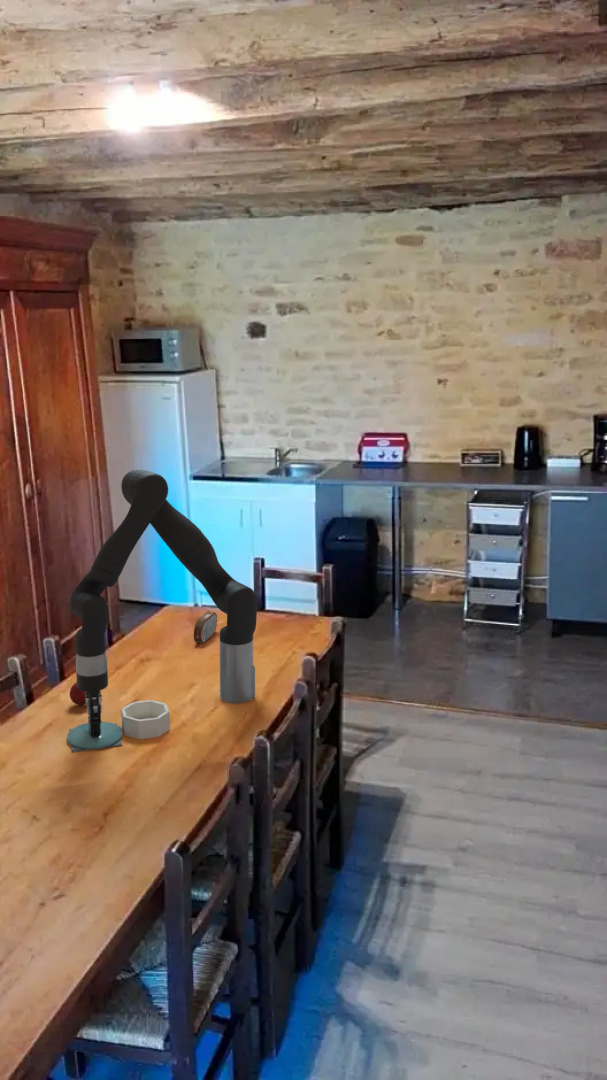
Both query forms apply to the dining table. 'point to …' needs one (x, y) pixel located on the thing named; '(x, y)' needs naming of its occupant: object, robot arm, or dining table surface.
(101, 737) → the lid
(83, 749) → the mat
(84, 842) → the dining table surface
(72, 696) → the onion
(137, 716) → the bowl
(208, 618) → the tin
